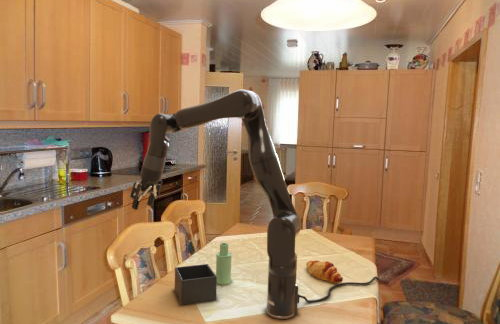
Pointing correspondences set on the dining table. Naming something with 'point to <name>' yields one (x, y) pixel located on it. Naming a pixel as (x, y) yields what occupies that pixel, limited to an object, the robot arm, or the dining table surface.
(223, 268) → the bottle
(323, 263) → the croissant
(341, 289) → the dining table surface
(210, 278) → the bin
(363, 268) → the dining table surface
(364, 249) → the dining table surface
